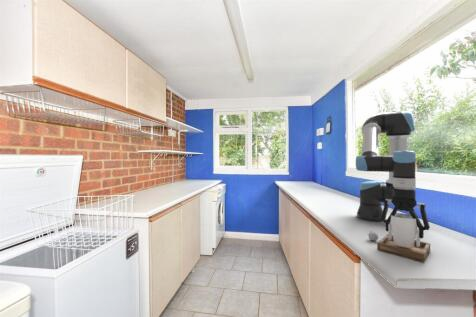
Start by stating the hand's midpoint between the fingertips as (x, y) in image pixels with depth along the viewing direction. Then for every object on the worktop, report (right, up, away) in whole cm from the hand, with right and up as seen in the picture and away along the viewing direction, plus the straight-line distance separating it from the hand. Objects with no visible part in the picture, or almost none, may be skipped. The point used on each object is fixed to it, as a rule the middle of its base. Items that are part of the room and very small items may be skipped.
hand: (403, 242), depth 91 cm
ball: (-6, -3, +11) cm, 13 cm away
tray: (0, -3, 0) cm, 3 cm away
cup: (0, -1, 0) cm, 1 cm away
